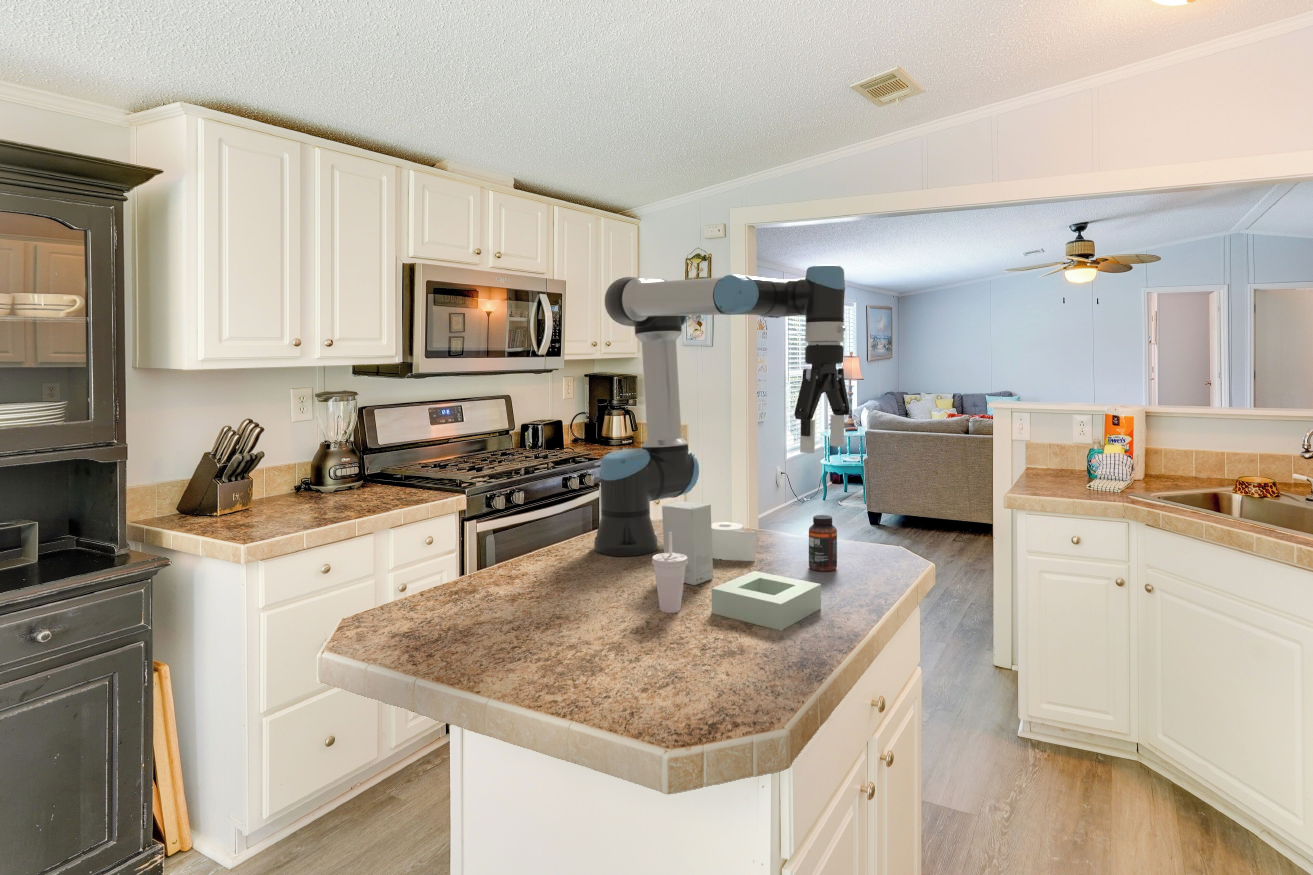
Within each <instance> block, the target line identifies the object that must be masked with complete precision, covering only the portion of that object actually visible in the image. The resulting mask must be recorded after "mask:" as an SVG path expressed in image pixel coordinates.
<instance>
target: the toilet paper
mask: <svg viewBox="0 0 1313 875" xmlns="http://www.w3.org/2000/svg"><path fill="white" fill-rule="evenodd" d="M711 530H712V558H714V560H719V559H722V560H723V561H745V562H756V556H757V555H756V553H757V552H756V551H757V550H756V549H757V548H756V547H757V543H756V542H757V541H756V540H757V532H756V531H744V525H743V524H741V523H738V522H732V521H731V522H730V521H717V522H711Z"/></svg>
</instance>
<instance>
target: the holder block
mask: <svg viewBox="0 0 1313 875" xmlns="http://www.w3.org/2000/svg"><path fill="white" fill-rule="evenodd" d="M821 609H822V583H817V582H812V581H807V580H802V579H797V578H792V577H787V576H783V575H778V574H777V575H776V574H771V573H766V572H762V571H756V570H753V571H751V572H749V573H745V574H743V575H741V576H739V577H736V578H734V579H731V580H729V581H726V582H723V583H721V584H719V585H716V586H714V587H712V588H711V614H713V615H718V616H722V617H725V618H730V619H734V620H737V621H741V622H745V623H749V624H753V625H758V626H761V627H764V628H769V629H773V630H777V631H780V632H781V631H783V630H785V629H786V628H788V627H790V626H792V625H793V624H795V623H798V622H799V621H801V620H803V619H805V618H806V617H807V618H808V616H810V615H812V614H814V613H815V612H817V611H819V610H821Z"/></svg>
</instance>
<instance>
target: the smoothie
mask: <svg viewBox="0 0 1313 875" xmlns="http://www.w3.org/2000/svg"><path fill="white" fill-rule="evenodd" d="M651 563H652V565H653V567H654V574H655V575H654V577H655V583H656V589H657V597H658V598H657V599H658V604H659V606H658V607H659V611H660V610H661V611H660V612H661V613H664V614H665V613H667V614H674V613H678V612H681V610H682V609H681V607H682V600H683V599H682V598H683V592H684V584H685V583H684V575H685V566H686V564H687V563H688V561H687V556H686V555H684V554H680V553H672V532H669V553H664V552H662V553H657V554H655V555H653V556H652V558H651Z"/></svg>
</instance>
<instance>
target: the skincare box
mask: <svg viewBox="0 0 1313 875" xmlns="http://www.w3.org/2000/svg"><path fill="white" fill-rule="evenodd" d="M711 507H712V505H711V504H707V503H699V502H691V501H683V500H680V501H676V502H673V503H669V504H665V505H662V506H661V513H662V532H663V533H662V534H663V535H662V536H663V553H669V532H672V553H680V554H684V555H686V556H687V561H688V563H687V564H686V566H685V575H684V584H687V585H690V586H691V585H692V586H697V585H700V584H702V583H706V582H708V581H710V580H712V579H713V578H714V565H713V564H714V563H713V558H712V530H711V523H712V508H711Z"/></svg>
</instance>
